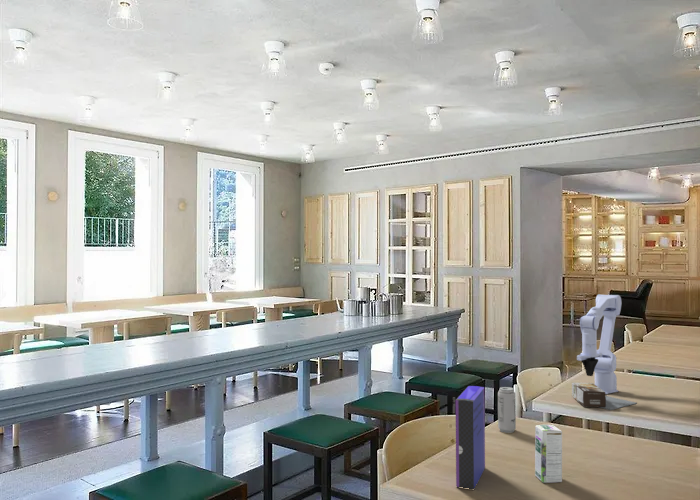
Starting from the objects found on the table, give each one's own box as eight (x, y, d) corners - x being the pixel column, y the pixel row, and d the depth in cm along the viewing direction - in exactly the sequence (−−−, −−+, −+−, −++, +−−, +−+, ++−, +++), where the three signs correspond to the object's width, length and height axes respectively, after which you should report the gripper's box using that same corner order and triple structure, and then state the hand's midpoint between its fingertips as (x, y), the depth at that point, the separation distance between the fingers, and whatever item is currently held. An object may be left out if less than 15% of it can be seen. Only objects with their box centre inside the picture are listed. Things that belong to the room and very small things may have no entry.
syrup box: (534, 475, 168) (533, 424, 168) (554, 474, 168) (553, 423, 168) (542, 483, 162) (542, 430, 162) (563, 482, 162) (562, 430, 162)
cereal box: (468, 465, 176) (468, 385, 176) (485, 467, 174) (484, 386, 174) (456, 487, 160) (455, 399, 160) (473, 490, 158) (473, 400, 158)
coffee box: (571, 397, 254) (582, 406, 238) (571, 382, 254) (582, 391, 238) (593, 397, 253) (605, 407, 237) (593, 382, 253) (605, 391, 237)
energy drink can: (516, 433, 206) (515, 390, 206) (498, 432, 207) (498, 390, 207) (515, 428, 212) (514, 386, 212) (497, 427, 213) (497, 386, 213)
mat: (603, 395, 257) (603, 395, 257) (636, 403, 244) (636, 402, 244) (577, 401, 247) (577, 401, 247) (610, 410, 234) (610, 409, 234)
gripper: (591, 341, 260) (591, 372, 260) (570, 344, 252) (570, 376, 252) (606, 343, 254) (606, 374, 254) (585, 346, 246) (585, 379, 246)
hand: (589, 375), depth 252 cm, fingers closed
